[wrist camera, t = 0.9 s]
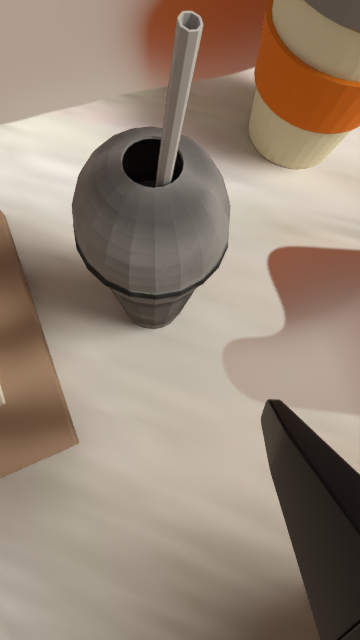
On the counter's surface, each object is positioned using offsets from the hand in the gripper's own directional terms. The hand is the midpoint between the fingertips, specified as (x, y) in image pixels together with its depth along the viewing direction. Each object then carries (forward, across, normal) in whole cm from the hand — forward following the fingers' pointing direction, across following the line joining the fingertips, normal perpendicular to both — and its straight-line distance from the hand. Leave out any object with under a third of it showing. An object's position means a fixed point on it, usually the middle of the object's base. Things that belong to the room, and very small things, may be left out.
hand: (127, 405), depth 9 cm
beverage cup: (+16, 0, +5) cm, 16 cm away
